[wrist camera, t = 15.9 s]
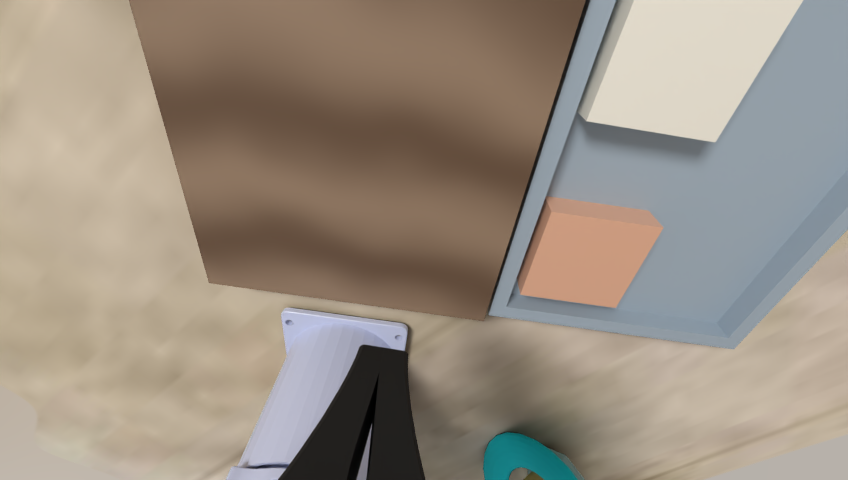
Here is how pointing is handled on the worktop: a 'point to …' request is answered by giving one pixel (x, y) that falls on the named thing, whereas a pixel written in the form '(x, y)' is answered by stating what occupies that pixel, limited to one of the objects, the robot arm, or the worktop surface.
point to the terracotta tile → (586, 251)
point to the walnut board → (357, 138)
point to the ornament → (526, 459)
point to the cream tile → (681, 63)
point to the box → (703, 190)
